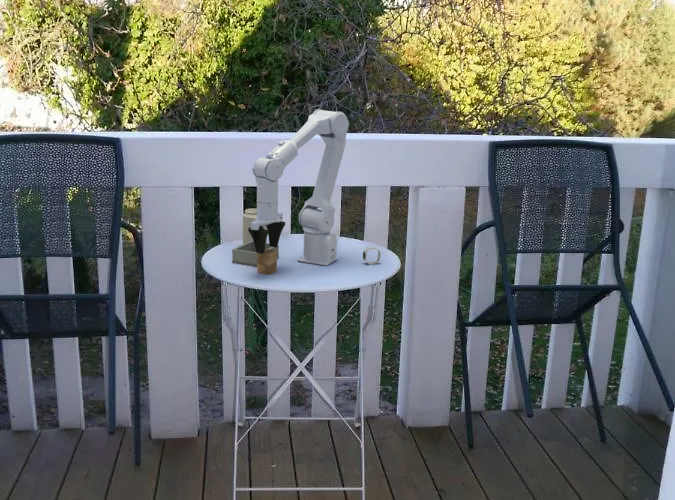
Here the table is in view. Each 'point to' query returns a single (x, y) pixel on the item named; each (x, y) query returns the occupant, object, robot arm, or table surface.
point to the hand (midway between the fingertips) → (267, 249)
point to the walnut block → (267, 262)
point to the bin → (249, 253)
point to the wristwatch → (366, 255)
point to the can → (249, 224)
